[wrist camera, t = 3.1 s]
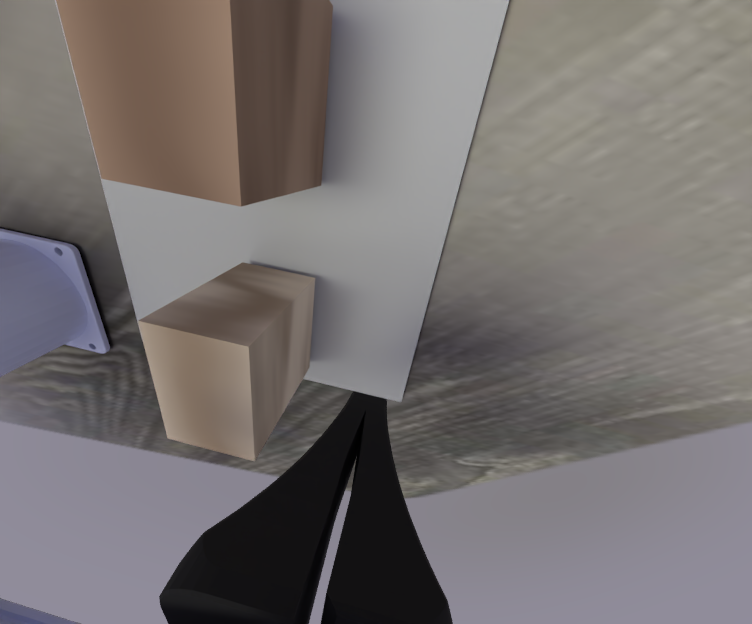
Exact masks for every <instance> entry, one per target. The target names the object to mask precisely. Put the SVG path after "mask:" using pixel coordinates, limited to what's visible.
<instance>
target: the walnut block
mask: <svg viewBox="0 0 752 624" xmlns="http://www.w3.org/2000/svg"><path fill="white" fill-rule="evenodd" d="M56 3H57V6H58V10H59V14H60V18H61V22H62V26H63V30H64V34H65V38H66V42H67V46H68V49H69V53H70V57H71V61H72V65H73V69H74V73H75V77H76V81H77V85H78V89H79V93H80V96H81V100H82V104H83V108H84V112H85V116H86V120H87V124H88V128H89V132H90V136H91V139H92V143H93V147H94V151H95V155H96V159H97V163H98V167H99V171H100V175H101V179H105V180H110V181H115V182H120V183H125V184H130V185H135V186H140V187H145V188H150V189H155V190H160V191H165V192H170V193H175V194H180V195H185V196H190V197H195V198H200V199H205V200H210V201H215V202H220V203H225V204H230V205H235V206H240V207H242V206H246V205H250V204H253V203H257V202H261V201H265V200H269V199H272V198H276V197H280V196H284V195H288V194H292V193H295V192H299V191H303V190H307V189H311V188H314V187H318V186H321V183H322V168H323V152H324V137H325V122H326V107H327V91H328V76H329V61H330V46H331V31H332V15H333V5H332V3H331V2H330V0H56Z"/></svg>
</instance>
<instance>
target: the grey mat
mask: <svg viewBox="0 0 752 624" xmlns="http://www.w3.org/2000/svg"><path fill="white" fill-rule="evenodd" d="M55 2H56V0H55ZM330 2H331V3H332V5H333V15H332V31H331V46H330V61H329V76H328V91H327V107H326V122H325V137H324V152H323V168H322V183H321V186H318V187H314V188H311V189H307V190H303V191H299V192H295V193H292V194H288V195H284V196H280V197H276V198H272V199H269V200H265V201H261V202H257V203H253V204H250V205H246V206H242V207H240V206H235V205H230V204H225V203H220V202H215V201H210V200H205V199H200V198H195V197H190V196H185V195H180V194H175V193H170V192H165V191H160V190H155V189H150V188H145V187H140V186H135V185H130V184H125V183H120V182H115V181H110V180H105V179H101V182H102V186H103V189H104V193H105V197H106V201H107V205H108V209H109V213H110V217H111V221H112V225H113V228H114V232H115V236H116V240H117V244H118V248H119V252H120V256H121V260H122V264H123V267H124V271H125V275H126V279H127V283H128V287H129V291H130V295H131V299H132V302H133V306H134V310H135V314H136V318H137V322H138V320H140V319H142V318H144V317H145V316H147V315H149V314H151V313H153V312H154V311H156V310H158V309H160V308H162V307H163V306H165V305H167V304H169V303H171V302H172V301H174V300H176V299H178V298H180V297H181V296H183V295H185V294H187V293H189V292H190V291H192V290H194V289H196V288H197V287H199V286H201V285H203V284H205V283H206V282H208V281H210V280H212V279H214V278H215V277H217V276H219V275H221V274H223V273H224V272H226V271H228V270H230V269H232V268H233V267H235V266H237V265H239V264H241V263H242V262H244V263H248V264H253V265H258V266H262V267H267V268H272V269H276V270H281V271H286V272H290V273H295V274H300V275H304V276H309V277H314V278H315V289H314V305H313V320H312V335H311V350H310V366H309V369H308V371H307V373H306V374H305V376H304V378H303V379H306V380H310V381H315V382H319V383H323V384H327V385H331V386H335V387H340V388H344V389H348V390H352V391H356V392H360V393H365V394H369V395H373V396H377V397H381V398H385V399H390V400H394V401H398V402H401V401H402V397H403V393H404V390H405V386H406V382H407V379H408V375H409V371H410V367H411V364H412V360H413V356H414V353H415V349H416V345H417V341H418V338H419V334H420V330H421V327H422V323H423V319H424V315H425V312H426V308H427V304H428V301H429V297H430V293H431V289H432V286H433V282H434V278H435V275H436V271H437V267H438V263H439V260H440V256H441V252H442V249H443V245H444V241H445V237H446V234H447V230H448V226H449V223H450V219H451V215H452V211H453V208H454V204H455V200H456V197H457V193H458V189H459V185H460V182H461V178H462V174H463V171H464V167H465V163H466V159H467V156H468V152H469V148H470V145H471V141H472V137H473V133H474V130H475V126H476V122H477V119H478V115H479V111H480V107H481V104H482V100H483V96H484V93H485V89H486V85H487V81H488V78H489V74H490V70H491V67H492V63H493V59H494V55H495V52H496V48H497V44H498V41H499V37H500V33H501V29H502V26H503V22H504V18H505V14H506V11H507V7H508V3H509V0H330ZM56 6H57V3H56ZM57 10H58V6H57ZM58 14H59V10H58ZM59 18H60V14H59ZM60 22H61V18H60ZM61 26H62V22H61ZM62 30H63V26H62ZM63 34H64V30H63ZM64 38H65V34H64ZM65 41H66V38H65ZM66 45H67V42H66ZM67 49H68V46H67ZM68 53H69V49H68ZM69 57H70V53H69ZM70 61H71V57H70ZM71 65H72V61H71ZM72 69H73V65H72ZM73 73H74V69H73ZM74 77H75V73H74ZM75 80H76V77H75ZM76 84H77V81H76ZM77 88H78V85H77ZM78 92H79V89H78ZM79 96H80V93H79ZM80 100H81V96H80ZM81 104H82V100H81ZM82 108H83V104H82ZM83 112H84V108H83ZM84 115H85V112H84ZM85 119H86V116H85ZM86 123H87V120H86ZM87 127H88V124H87ZM88 131H89V128H88ZM89 135H90V132H89ZM90 139H91V136H90ZM91 143H92V139H91ZM92 147H93V143H92ZM93 151H94V147H93ZM94 154H95V151H94ZM95 158H96V155H95ZM96 162H97V159H96ZM97 166H98V163H97ZM98 170H99V167H98ZM99 174H100V171H99ZM100 178H101V175H100ZM138 326H139V323H138ZM139 330H140V327H139ZM140 334H141V331H140ZM141 338H142V335H141ZM142 340H143V339H142Z"/></svg>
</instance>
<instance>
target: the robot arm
mask: <svg viewBox="0 0 752 624" xmlns="http://www.w3.org/2000/svg"><path fill="white" fill-rule="evenodd" d="M64 344H65V345H69V346H73V347H77V348H81V349H85V350H89V351H93V352H97V353H102V354H104V353H106V352H108V351H109V350H110V345H109V342H108V339H107V336H106V333H105V330H104V327H103V324H102V321H101V317H100V314H99V311H98V308H97V305H96V302H95V299H94V296H93V293H92V289H91V286H90V283H89V280H88V277H87V274H86V271H85V268H84V265H83V262H82V258H81V255H80V252H79V250H78V249H77V248H76V247H75V246H74V245H72V244H69V243H64V242H60V241H55V240H51V239H46V238H42V237H37V236H32V235H28V234H23V233H19V232H14V231H10V230H5V229H0V377H1V376H3V375H5V374H7V373H9V372H11V371H13V370H15V369H17V368H19V367H21V366H23V365H25V364H27V363H28V362H30V361H32V360H34V359H36V358H38V357H40V356H42V355H44V354H46V353H48V352H50V351H52V350H54V349H56V348H58V347H60V346H62V345H64ZM356 457H357V458H356ZM355 459H356V465H355V472H354V478H353V485H352V491H351V497H350V501H349V505H348V509H347V513H346V517H345V521H344V525H343V529H342V533H341V538H340V541H339V545H338V549H337V553H336V557H335V561H334V565H333V569H332V574H331V577H330V581H329V585H328V589H327V593H326V599H325V604H324V609H323V615H322V620H321V624H453V623H452V618H451V614H450V609H449V605H448V601H447V599H446V597H445V595H444V593H443V591H442V589H441V587H440V585H439V583H438V581H437V579H436V576H435V574H434V572H433V570H432V568H431V566H430V563H429V561H428V559H427V557H426V554H425V552H424V550H423V548H422V545H421V543H420V540H419V538H418V535H417V533H416V530H415V527H414V525H413V522H412V520H411V517H410V515H409V512H408V509H407V506H406V503H405V500H404V497H403V493H402V490H401V487H400V484H399V480H398V476H397V472H396V468H395V464H394V460H393V455H392V451H391V445H390V439H389V433H388V425H387V401H386V399H384V398H380V397H376V396H371V395H367V394H363V393H359V392H353V393H352V394H351V396H350V398H349V400H348V402H347V403H346V405H345V406H344V408H343V409H342V411H341V412H340V413H339V415H338V416H337V417H336V419H335V420H334V421H333V423H332V424H331V425H330V426H329V428H328V429H327V430H326V431H325V432H324V434H323V435H322V436H321V437H320V438H319V439H318V440H317V441H316V442H315V444H314V445H313V446H312V447H311V448H310V449H309V450H308V451H307V452H306V453H305V454H304V455H303V456H302V457H301V458H300V459H299V460H298V461H297V462H296V463H295V464H294V465H293V466H292V467H291V468H289V469H288V470H287V471H286V472H285V473H284V474H283V475H281V476H280V477H279V478H278V479H277V480H276V481H275V482H273V483H272V484H271V485H270V486H269V487H267V488H266V489H265V490H263V491H262V492H261V493H259V494H258V495H257V496H256V497H254V498H253V499H252V500H250V501H249V502H248V503H246V504H245V505H244V506H243V507H241V508H240V509H238V510H237V511H235V512H234V513H232V514H231V515H229V516H228V517H226V518H225V519H223V520H222V521H220V522H219V523H217V524H216V525H214V526H213V527H211V528H210V529H208V530H207V531H205V532H204V533H203V534H202V535H201V537H200V538H199V539H198V540H197V541H196V543H195V544H194V545H193V546H192V547H191V549H190V550H189V552H188V553H187V554H186V555H185V557H184V558H183V559H182V561H181V562H180V563H179V565H178V567H177V568H176V570H175V572H174V573H173V575H172V577H171V578H170V580H169V581H168V583H167V585H166V586H165V588H164V590H163V591H162V593H161V595H160V596H159V597H160V605H161V608H162V610H163V613H164V615H165V617H166V619H167V621H168V624H309V620H310V616H311V612H312V608H313V604H314V600H315V596H316V592H317V588H318V584H319V580H320V576H321V572H322V568H323V565H324V560H325V557H326V553H327V549H328V545H329V541H330V537H331V533H332V529H333V526H334V522H335V519H336V515H337V512H338V509H339V506H340V503H341V500H342V497H343V495H344V491H345V489H346V486H347V483H348V480H349V477H350V474H351V471H352V468H353V465H354V462H355ZM0 624H80V623H77V622H74V621H70V620H67V619H64V618H61V617H58V616H55V615H51V614H48V613H45V612H42V611H39V610H36V609H33V608H29V607H26V606H23V605H20V604H17V603H13V602H10V601H7V600H4V599H1V598H0Z"/></svg>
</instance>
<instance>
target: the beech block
mask: <svg viewBox="0 0 752 624" xmlns="http://www.w3.org/2000/svg"><path fill="white" fill-rule="evenodd" d="M314 289H315V278H314V277H309V276H304V275H300V274H295V273H290V272H286V271H281V270H276V269H272V268H267V267H262V266H258V265H253V264H248V263H244V262H242V263H241V264H239V265H237V266H235V267H233V268H232V269H230V270H228V271H226V272H224V273H223V274H221V275H219V276H217V277H215V278H214V279H212V280H210V281H208V282H206V283H205V284H203V285H201V286H199V287H197V288H196V289H194V290H192V291H190V292H189V293H187V294H185V295H183V296H181V297H180V298H178V299H176V300H174V301H172V302H171V303H169V304H167V305H165V306H163V307H162V308H160V309H158V310H156V311H154V312H153V313H151V314H149V315H147V316H145V317H144V318H142V319H140V320H138V323H139V327H140V331H141V335H142V339H143V343H144V347H145V351H146V355H147V359H148V363H149V366H150V370H151V374H152V378H153V382H154V386H155V390H156V394H157V398H158V402H159V406H160V410H161V413H162V417H163V421H164V425H165V429H166V433H167V437H168V439H172V440H176V441H180V442H183V443H187V444H191V445H195V446H199V447H202V448H206V449H210V450H214V451H218V452H221V453H225V454H229V455H233V456H236V457H240V458H244V459H248V460H252V461H255V460H256V459H257V457H258V455H259V453H260V452H261V450H262V448H263V447H264V445H265V443H266V441H267V440H268V438H269V436H270V435H271V433H272V431H273V429H274V428H275V426H276V424H277V422H278V421H279V419H280V417H281V416H282V414H283V412H284V410H285V409H286V407H287V405H288V404H289V402H290V400H291V398H292V397H293V395H294V393H295V392H296V390H297V388H298V386H299V385H300V383H301V381H302V380H303V378H304V376H305V374H306V373H307V371H308V369H309V366H310V350H311V335H312V320H313V305H314Z"/></svg>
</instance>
